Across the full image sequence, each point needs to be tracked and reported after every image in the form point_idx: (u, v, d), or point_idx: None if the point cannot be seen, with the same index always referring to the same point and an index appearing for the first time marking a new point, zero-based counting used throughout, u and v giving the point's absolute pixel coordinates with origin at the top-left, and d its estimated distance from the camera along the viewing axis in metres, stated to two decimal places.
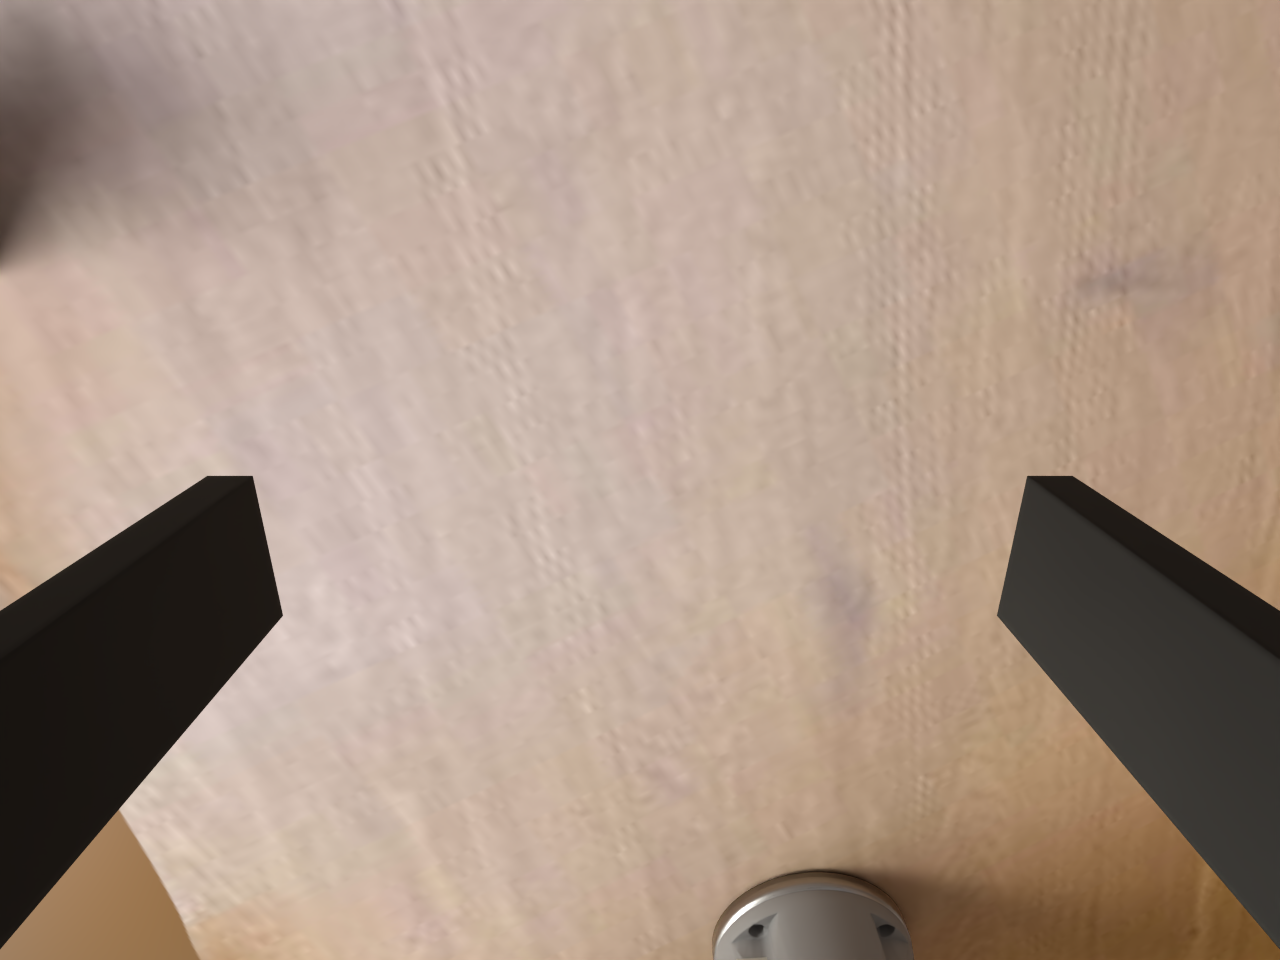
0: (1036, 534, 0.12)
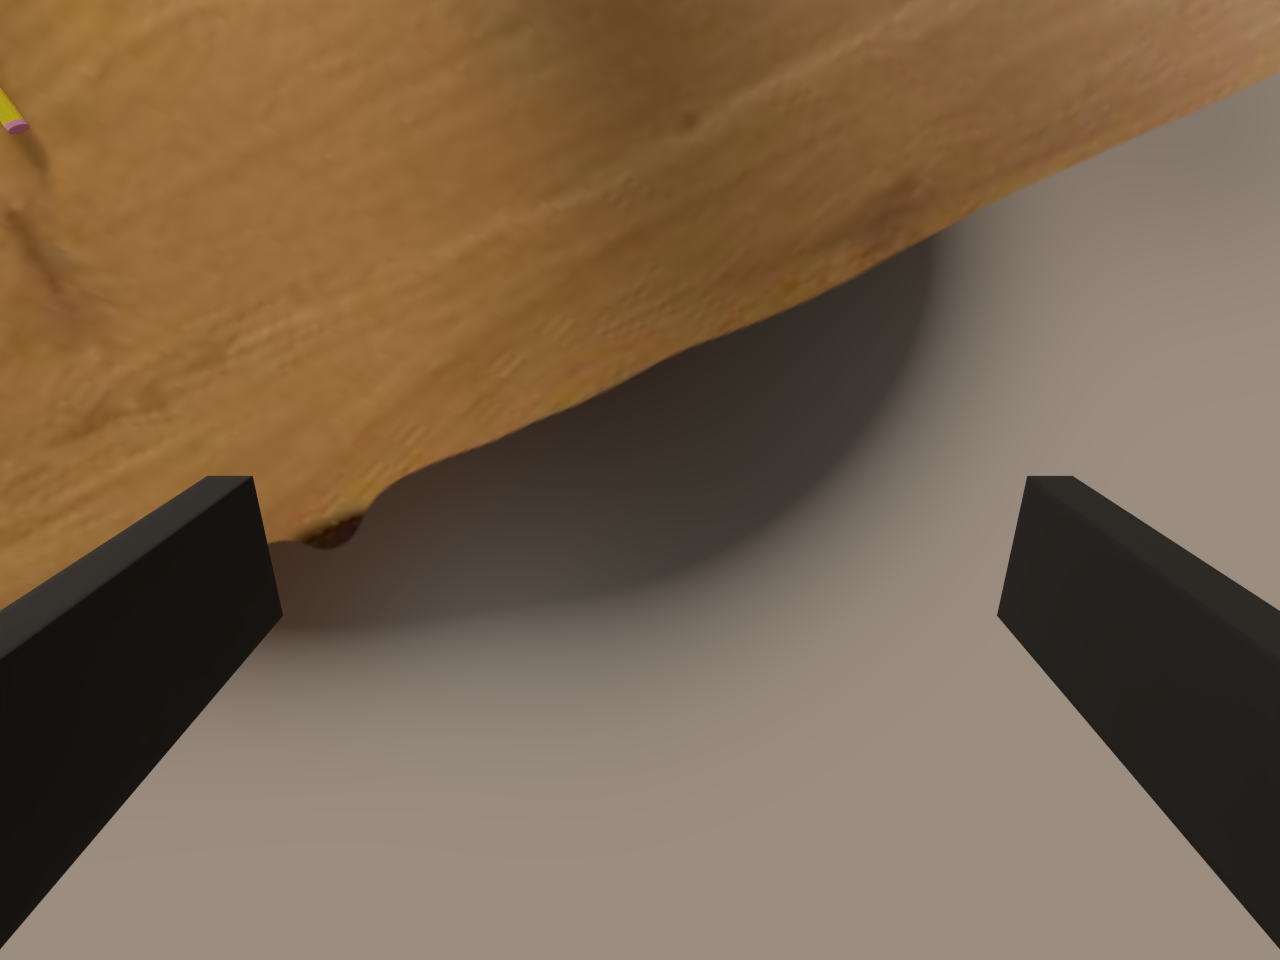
0: (1036, 534, 0.12)
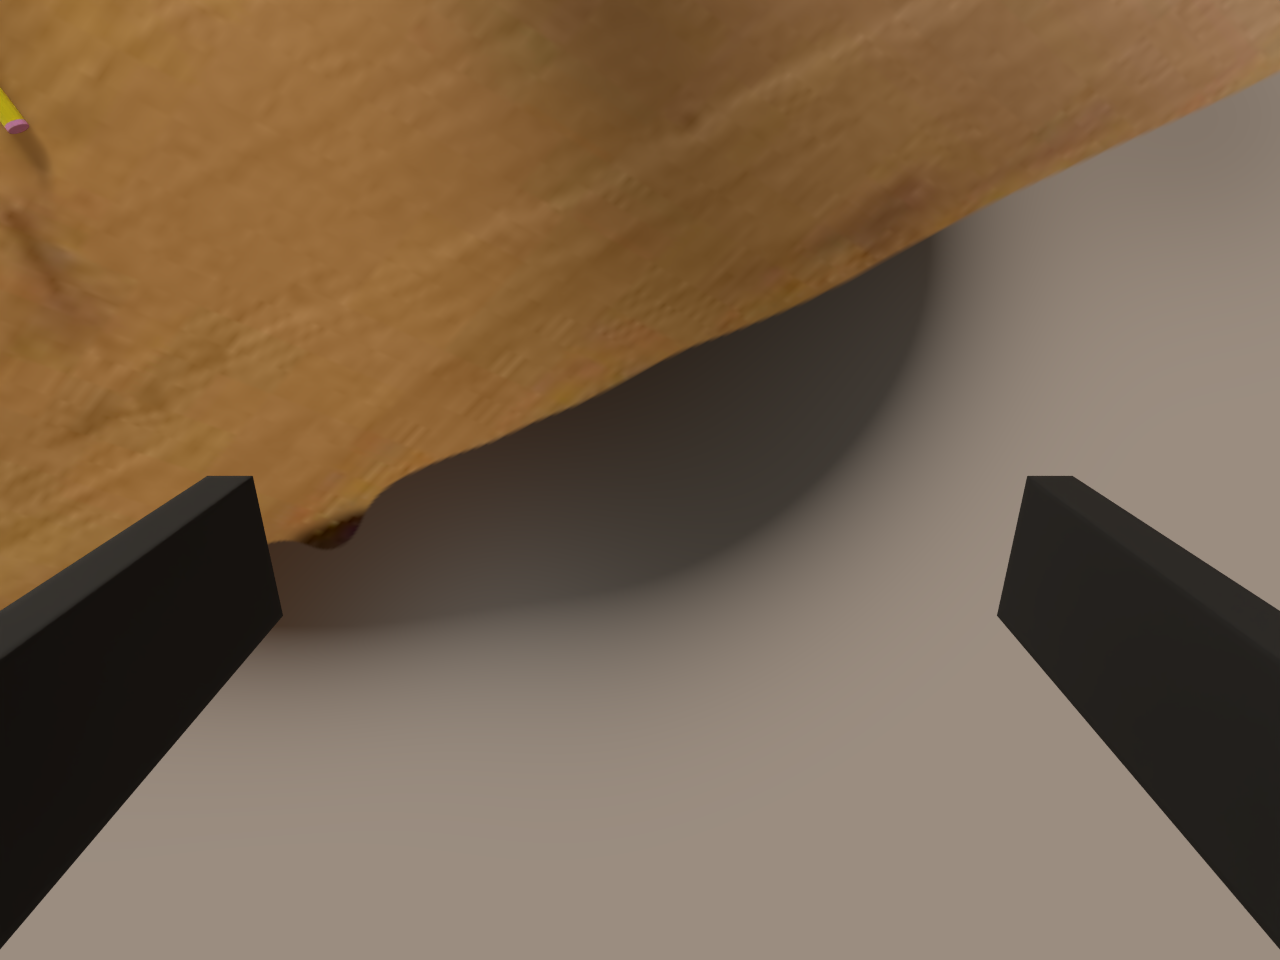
0: (1036, 534, 0.12)
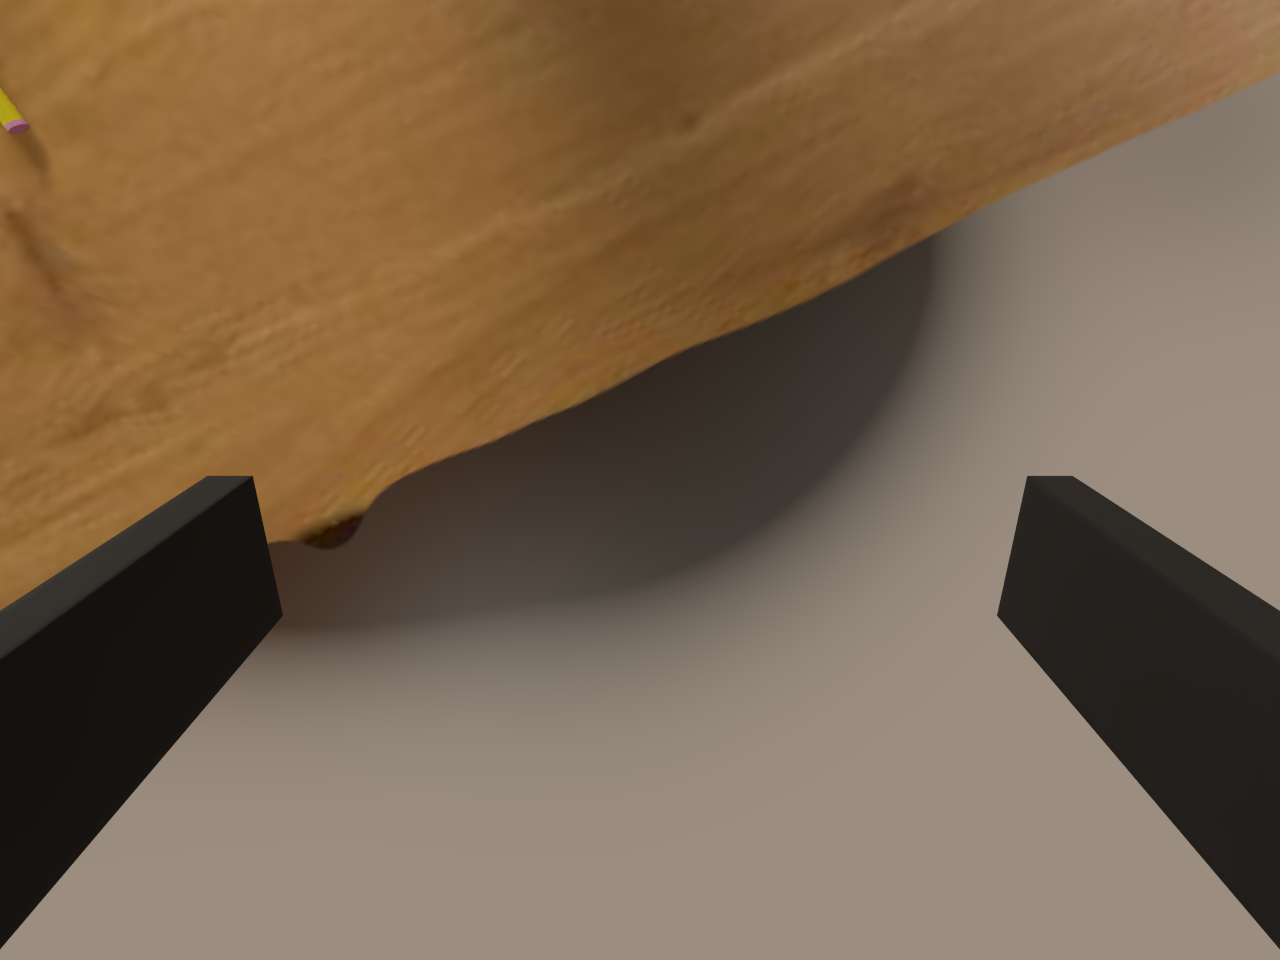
0: (1036, 534, 0.12)
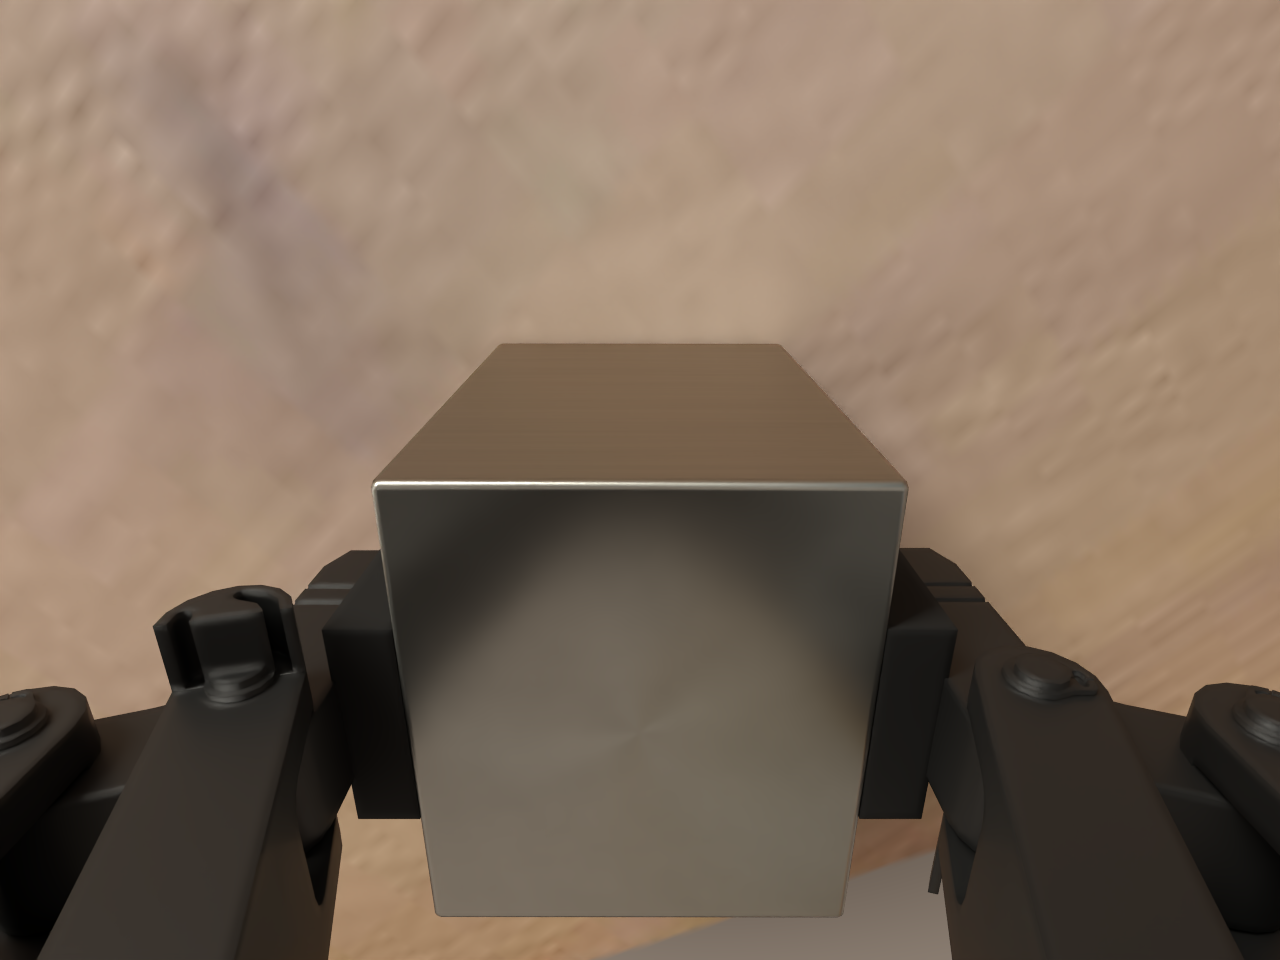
0: None
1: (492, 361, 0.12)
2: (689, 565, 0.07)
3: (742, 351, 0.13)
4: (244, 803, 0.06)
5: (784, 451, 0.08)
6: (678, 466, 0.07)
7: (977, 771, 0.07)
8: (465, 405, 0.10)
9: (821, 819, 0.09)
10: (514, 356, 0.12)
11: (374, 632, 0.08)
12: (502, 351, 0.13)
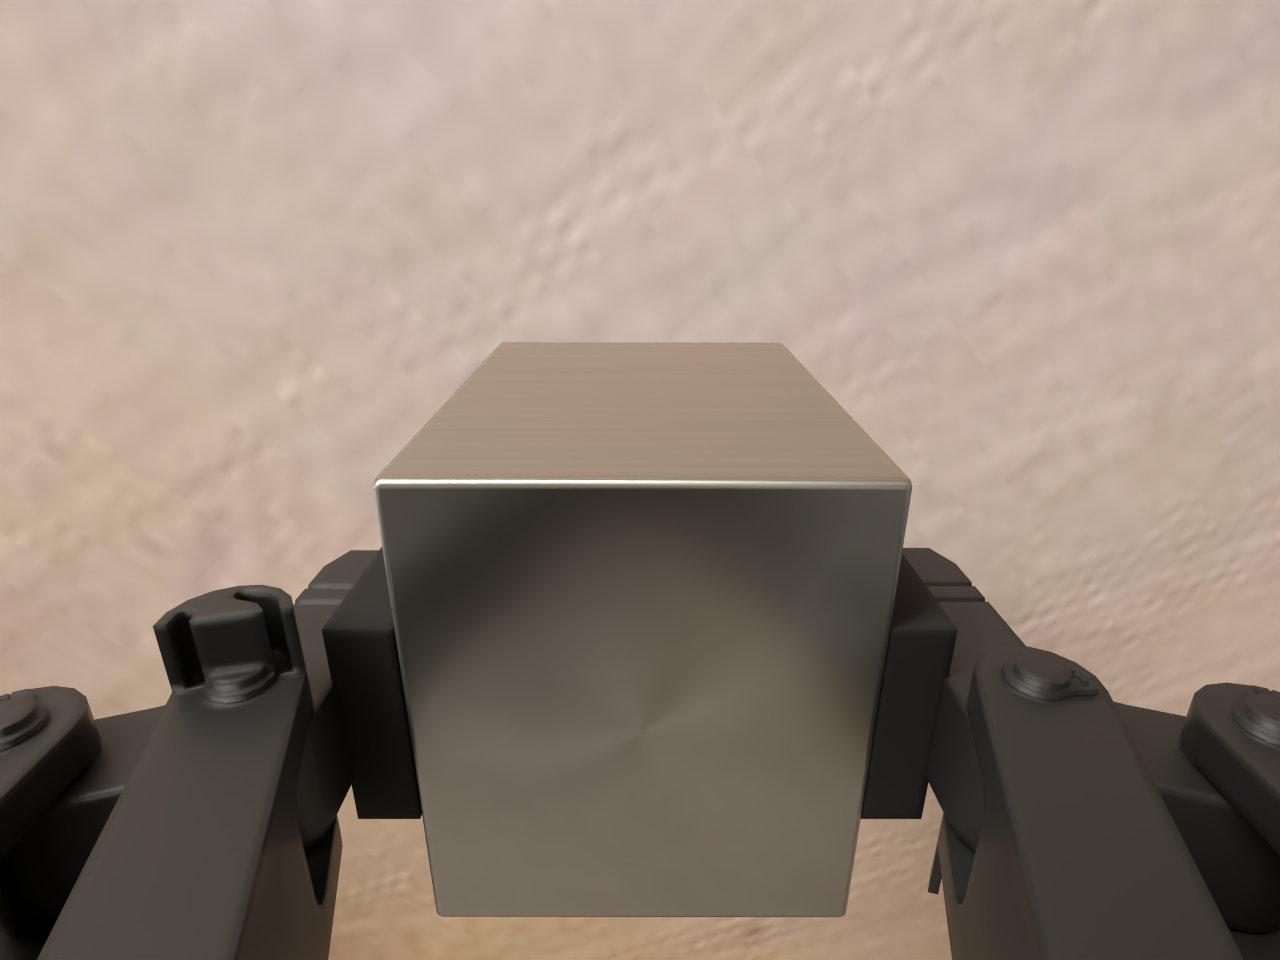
0: None
1: (493, 360, 0.12)
2: (691, 564, 0.07)
3: (743, 349, 0.13)
4: (244, 803, 0.06)
5: (787, 449, 0.08)
6: (681, 465, 0.07)
7: (977, 771, 0.07)
8: (467, 404, 0.10)
9: (824, 819, 0.09)
10: (516, 355, 0.12)
11: (374, 632, 0.08)
12: (503, 350, 0.13)
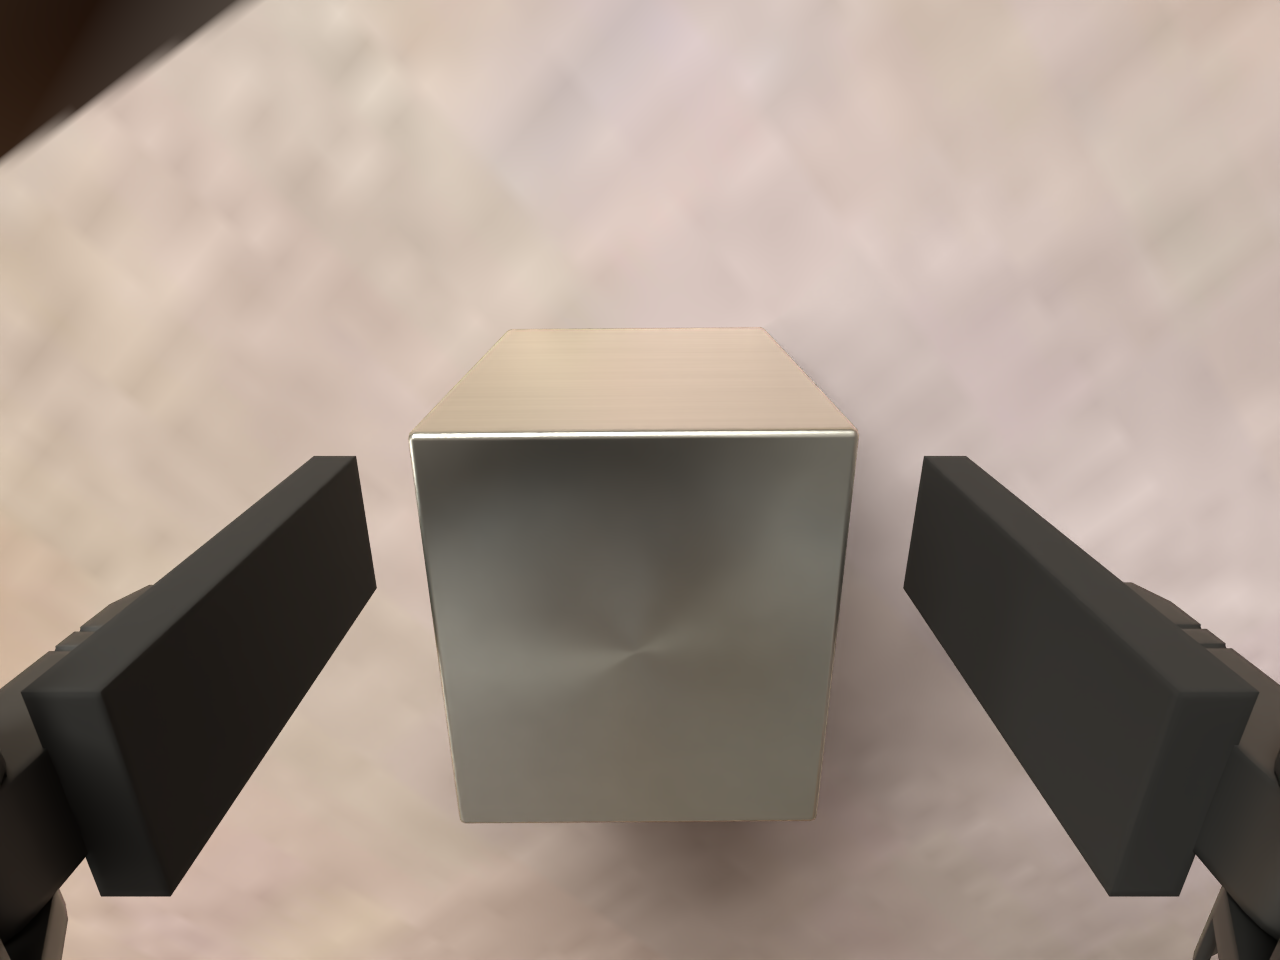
0: (930, 509, 0.12)
1: (502, 344, 0.13)
2: (675, 503, 0.09)
3: (727, 333, 0.14)
4: None
5: (756, 408, 0.09)
6: (666, 420, 0.09)
7: None
8: (481, 377, 0.11)
9: (793, 729, 0.10)
10: (522, 339, 0.14)
11: (85, 694, 0.07)
12: (511, 335, 0.14)
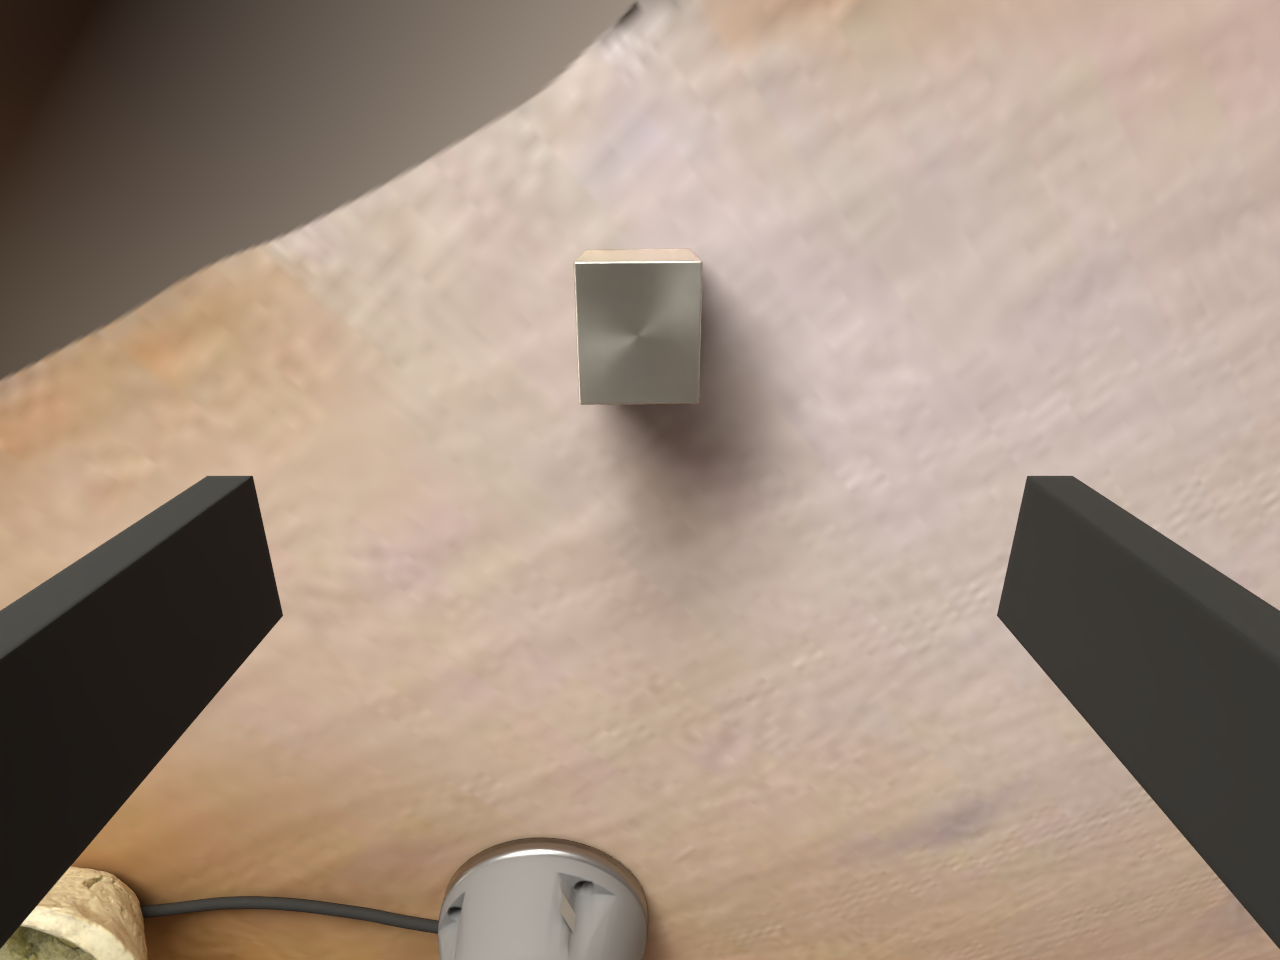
0: (1036, 534, 0.12)
1: (586, 252, 0.35)
2: (650, 283, 0.30)
3: (675, 249, 0.35)
4: None
5: (675, 258, 0.30)
6: (647, 260, 0.30)
7: None
8: (586, 256, 0.32)
9: (689, 365, 0.31)
10: (593, 251, 0.35)
11: None
12: (588, 250, 0.35)
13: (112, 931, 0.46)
